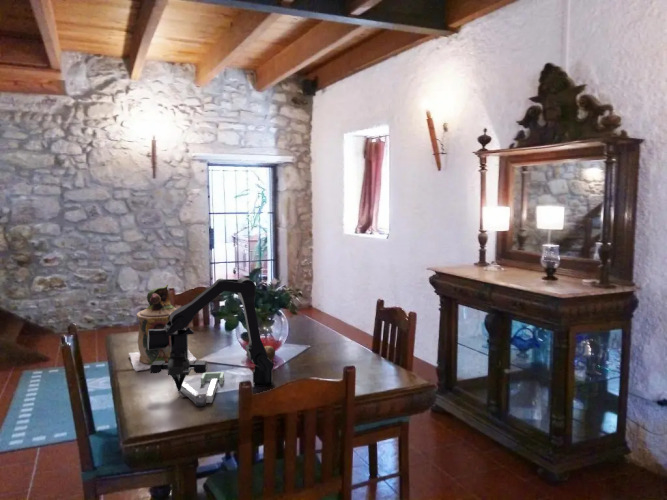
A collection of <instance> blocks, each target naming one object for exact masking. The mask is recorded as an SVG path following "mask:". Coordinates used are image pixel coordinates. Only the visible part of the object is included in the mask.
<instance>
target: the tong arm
mask: <svg viewBox="0 0 667 500" xmlns="http://www.w3.org/2000/svg"><path fill="white" fill-rule="evenodd" d="M179 392H181V393H182V394H184V395H185V396H186V397H187V398H188V399H189V400H190V401H191V402H193V403H194V404H195V406H196V407H204V406H206V395H204V394H200V392H198V391H197V390H196V389H194V388H193V387H192V386H191V385H189V383H187V382H186V381H185V380H184V381H183V384H182V387H181V390H180V391H179Z"/></svg>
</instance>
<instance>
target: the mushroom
mask: <svg viewBox="0 0 667 500" xmlns="http://www.w3.org/2000/svg"><path fill="white" fill-rule="evenodd" d="M264 347H265V350H266V352H267V355H268V358H269V359H270V360H271V361H272V360H273V359H274V358H275V356H276V350H275V349H274V347H273V346H272V345H264Z"/></svg>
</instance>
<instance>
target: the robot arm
mask: <svg viewBox="0 0 667 500" xmlns="http://www.w3.org/2000/svg"><path fill="white" fill-rule="evenodd" d="M223 292H230V293H237V296H238V298H239V299H240V301H241V304H242V308H243V309H242V310H243V313H244V318H245V326H246V330H247V336H248V344H247V345H244V348H245V350H246V354H245V355H246V357H247V358H248V359H249V360H250V361H251V362H252V363H253V364H254V369H252V383H253V386H254V387H266V386H267V387H268V386H269V387H270V386H273V369H274V366H275V363H274V362H273V361H272V360H270V359H269V358H268V355H267V352H266V350H265V347H264V346H265V345H264V344H263V341H262V338H261V334H260V329H259V328H260V327H259V322H258V317H257V311H256V307H255V300H256V285H255V282H253V281H252V280H250V279H249V278H247V277H240V278H239V279H236V278H235V279H233V278H229V279H226V278H218V279H217V280H216V281H215V282H214V283H212V284H211V285H210V286H208V287H207V288H206V289H205V290H204V291H203V292H201V293H200V294H199V295H197V296H196V297H195V298H194V299H192V301H190V302H188V303H187V304H185V305H182V306H180V307H178V308H177V309H176V310H175V311H173V312H172V313H171V315H170V320H169V321H168V323H167V324H166V325H165V327H164V329H149V330H148V337H147V341H148V350H153V349H165V348H166V347H167V345H169V336H171V352H170V359H169V363H168V364H165V361H154V362H153V363H152V364H151V366H150V369H149V373H150V374H160V373H161V372H162V370H163V371H164V370H165V371H166V370H167V376H170V377H171V378H172V379H173V381H174V384H175V387H176V389H177V391H178V392H181V391H180V390H181V387H182V384H183V381H184V382H185V378H186V376H188V375H190V373H191V371H192V370H193V372H194V373H196V374H203V373H207V370H208V368H209V362H208V361H207V360H196V361H195V362H194V363H193V364H190V362H189V359H188V350H189V345H188V344H189V335H194V333H195V332H194V330H193V329H191V328H190V326H188V325H190V323H192V321H193V319H194V318H195V317H196V315H197V314H198V313H199V312H200V311H201V310H202V309H204V308H205V307H206V306H207V305H209V304H210V303H211V302H213V300H215V299H216V298H217V297H218V296H220V295H221V294H222V293H223ZM184 328H185V329H184Z"/></svg>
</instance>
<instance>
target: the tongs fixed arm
mask: <svg viewBox="0 0 667 500" xmlns="http://www.w3.org/2000/svg"><path fill="white" fill-rule="evenodd" d="M218 383H219V381H218V379H212V380H210V383H209V386H208V389H207V391H206V393H205V404H208V403H209V404H212V403H213V400H214V397H215V394H216V392H217V388H218Z"/></svg>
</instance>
